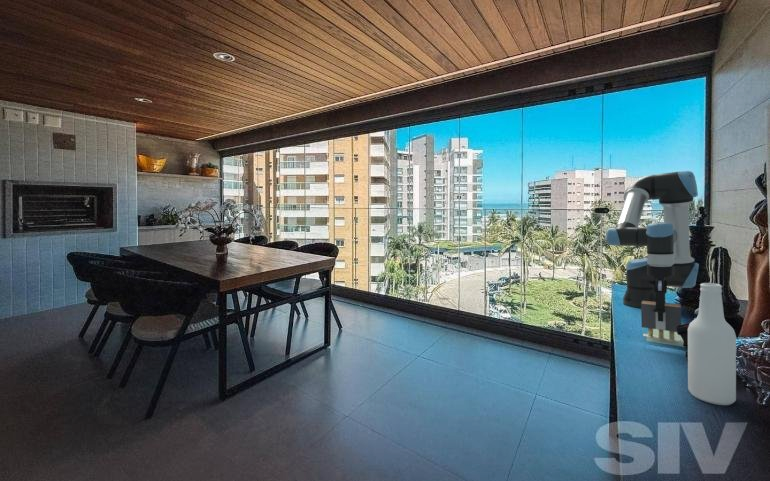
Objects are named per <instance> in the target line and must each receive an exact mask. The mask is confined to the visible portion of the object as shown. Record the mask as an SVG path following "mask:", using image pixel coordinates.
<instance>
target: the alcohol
mask: <svg viewBox="0 0 770 481" xmlns="http://www.w3.org/2000/svg"><path fill="white" fill-rule="evenodd" d="M699 286H700V288H699V290H700V295H699V305H698V313H697V316H696V317H695V318H694V319H693V320H692V321H691V322H689V323H690V324H689V323H688V324H689V327H688V361H687V389H688V391H689V393H690V394H691V395H692V396H693V397H695V398H696V399H698V400H700V401H703V402H705V403H708V404H712V405H718V406H730V405H732V404H734V403H735V402H736V401H737V363H736V356H737V336H736V332H735V329H734V328H733V326H731V324H729V323H728V322H727V321H726V319H725V314H724V313H725V312H724V304H723V303H724V302H723V295H722V293H723V289H722V288H723V285H721V284H720V283H716V282H715V283H714V282H702V283H700V284H699Z"/></svg>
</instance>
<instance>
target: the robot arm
mask: <svg viewBox="0 0 770 481" xmlns="http://www.w3.org/2000/svg"><path fill="white" fill-rule="evenodd" d="M696 180H697V179H696V176H695V174H694V173H693V172H692V171H689V170H685V171H684V170H683V171H674V172H673V171H672V172H667V173H666V172H665V173H657V174H650V175H649V174H648V175H645V176H642V177H640V178H638V179H637V180H635V181H633V182H632V183H631V184H630V185H629V186H628V187H627V188H626V189H625V191H624V194H623V205H622V207H621V210H620V212H619V216H618V219H617V222H616V225H615V227H610V228H608V229H607V230H606V234H605V239H606V243H607V245H608V246H616V247H617V246H618V247H626V246H627V247H633V246H634V247H646V255H645V256H644V258H636V259H631V260H628V261H627V262H626V268H625V271H626V290H625V292H624V294H623V298H622V304H624V305H626V306H629V307H633V308H640V309H641V303H642V301H651V302H656V309H655V310H653V312H656V329H660V330H666V320H665V303H667V302H666V294H667V290H668V287H670V288H671V287H672V288H674V287H675V288H681V289H684V288H685V289H687V288H688V289H690V288H691V289H692V288H694V287H695V286H696V282H697V277H698V274H699V266H700V264H699V263H697V262H695V258H694V257H692V256H691V252H690V249H691V248H690V246H691V245H690V208H689V207H690V204H691V203H693V202H694V198H696V197H698V195H699V193H698V185H697V181H696ZM651 200H653V201H654V200H656V201H657V200H658V203H659V205H661V206H662V207H663V222H652V223H648V224H647V225H646V226H642V227H640V226H639V225H640V221H641V218H642V215H643V211H644V206H645V204H647V203H648V201H651Z"/></svg>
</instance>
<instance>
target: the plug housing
mask: <svg viewBox="0 0 770 481" xmlns="http://www.w3.org/2000/svg"><path fill="white" fill-rule="evenodd" d="M640 309H641V310H640V314H641V320H640V321H641V328H644V329H645V328H646V329H648V328H651V329H656V312H653V310H655V309H656V302H651V301H642V303H641V308H640ZM665 320H666V331H673V332H677V329H676V326H679V325H682V305H681V303H670V302H666V303H665ZM658 330H660V329H658Z"/></svg>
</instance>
